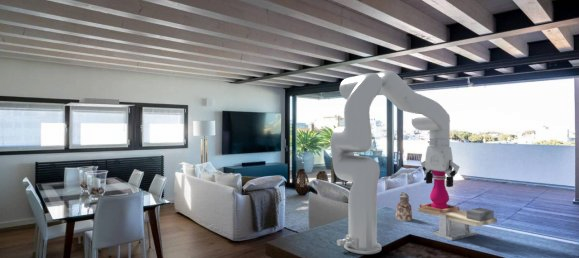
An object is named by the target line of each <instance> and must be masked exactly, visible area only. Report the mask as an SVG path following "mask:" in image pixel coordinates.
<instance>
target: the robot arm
mask: <svg viewBox="0 0 579 258" xmlns="http://www.w3.org/2000/svg"><path fill="white" fill-rule="evenodd" d="M339 94H340V96H341V97H342V98H343V99H345V100H346V101H345V104H344V111H343V119H344V125H343V124H342V125H339V126H337V127H336V128H334V129H333V131H332V132H331V135H330V150H331V153H330V154H331V159H332V166H333V167H332V168H333V171H334V174H335V176H336V177H337V178H338V179H340V180H342V181H346V182H350V183H352V185H351V187H350V189H349V192H348V201H347V203H348V205H347V206H348V207H347V208H348V217H347V218H348V222H347V223H348V224H347V225H348V227H347V228H348V229H347V230H348V231H347V234H345V237H344V238H343V239H342V238H340V239H337V240H336V244H337V246H338V247H340V246H343V247H344V249H345V250H347V251H348V252H351V253H354V254H359V255H374V254H378V253H380V252H381V251H382V245H381V244H380V243H379V242H377V239H378V236H377V235H378V227H377V226H378V225H377V221H378V220H377V218H378V216H377V215H378V214H377V213H378V211H377V210H378V209H377V203H378V201H377V197H378V196H377V194H378V184H379V179H380V173H381V172H380V171H381V168H380V165H379V163H378V162H377V161H376V160H375V159H374V158H372V157H370V156H366V155H354V153H366V152H368V151H369V150H371V148H372V143H373V139H372V137H373V136H372V135H373V134H372V127H371V126H372V125H371V118H370V115H371V114H370V109H371V106H372V104H373V101H374V100H375V98H376V97H377V96H384V97H385V98H386V99H387V100H388V101H390V102H391V103H392V105H394V106H395V108H397V110H400V111H404V112H407V113H411V114H413V116H412V118H411V124H412V126H413V128H414V129H416V130H418V131H429V139H428V140H427V143H428V144H429V145H427V147H426V153H425V159H424V160H423V161H421V163H420V165H421V167H422V170H423V172H424V174H425V183H426V184H429V185H430V184H433V173H432V171H431V170H433V171H441V172H444V171H445V173H446V174H445V175H446V179H445V187H447V188H452V187H454V177H455V176H456V175H457V174H458V171H459V170H460V168H461V167H460V166H459V165H458V164H456V163H455V162H454V160H453V153H452V147H451V146H450V140H451V139H450V138H451V137H450V133H451V131H450V130H451V128H450V127H451V125H450V124H451V119H450V118H451V117H450V114H449V113H448V112H447V110H446V109H445V108H444V107H443V105H441V104H440V103H439V102H437V101H435V100H434V99H432V98H429V97H427V96H425V95H422V94H420V93H417V92H415V91H414V90H413V88H411V87H410V86H409V85H408V84H407V83H406V81H404V79H402V78H401V77H400V76H399V75H398V74H397V73H396V72H394V71H393V70H384V71H380V72H368V73H363V74H362V73H361V74H359V75H355V76H354V75H353V76H350V77H346V78H344V79H343V80H342V81H341V82H340V85H339Z"/></svg>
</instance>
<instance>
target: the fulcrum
mask: <svg viewBox="0 0 579 258" xmlns="http://www.w3.org/2000/svg"><path fill="white" fill-rule="evenodd" d="M462 210H463V211H467V210H465V209H462ZM438 221H439V222H438V224H439V225H438V226H439V228H438V229H439V230H436V231H433V235H434V236H438V237H440V238H443V239H446V240H449V241H455V240H459V239H465V238H468V237H469V238H470V237H472V236H477V235H478V232H477V231H475V230H471V228H472V227H471V226H472V225H468V224H464V223H460V222H457V221H453V220H449V219H448V216H447V215H443V214H439V217H438ZM464 237H465V238H464Z"/></svg>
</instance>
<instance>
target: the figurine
mask: <svg viewBox="0 0 579 258" xmlns="http://www.w3.org/2000/svg"><path fill="white" fill-rule="evenodd" d="M409 199H410V198H409V195H408V194H407V192H403V191H402V192H401V193H400V195H399V202H398V203H397V204H396V209H395V211H396V212H395V219H396V220H398V221H401V222H411V221H413V212H412V205H411V203H410V202H409V201H410V200H409Z"/></svg>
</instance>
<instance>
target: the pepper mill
mask: <svg viewBox="0 0 579 258" xmlns="http://www.w3.org/2000/svg"><path fill="white" fill-rule="evenodd" d="M431 171H432V172H431V174H432V180H433V187H432V189H431V191H430V194H429V199H430V200H431V201H432V202H430V203H431V207H433V208H437V209H448V205H449V204H448V202H449V201H450V196H449V193H448V190H447V188H446V177H447V174H446V173H445V171H444V172H441V171H433V170H431Z"/></svg>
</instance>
